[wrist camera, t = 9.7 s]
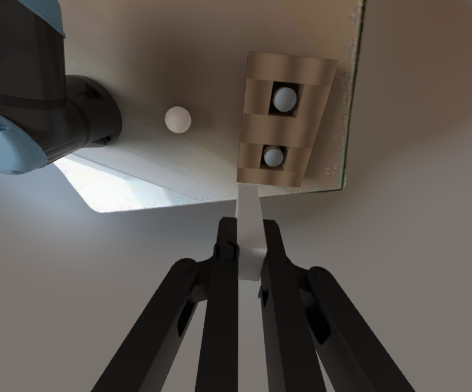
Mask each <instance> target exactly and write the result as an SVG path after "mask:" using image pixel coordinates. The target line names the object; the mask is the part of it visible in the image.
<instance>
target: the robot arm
mask: <svg viewBox="0 0 472 392" xmlns="http://www.w3.org/2000/svg"><path fill="white" fill-rule="evenodd" d="M63 38H64V39H65V38H66V36H65V33H64V32H63V24H62V14H61V8H60V5H59V3H58V1H57V0H0V173H3V174H10V175H18V174H24V173H27V172H30V171H32V170H35V169H39V168H42V167H45V166H46V165H48V164H50V163H52V162H54V161H56V160H58V159H60V158H62V157H64V156H66V155H68V154H70V153H72V152H74V151H76V150H78V149H80V148H94V147H103V146H106V145H108V144H110V143H112V142H113V141H115V140H116V139H117V138H118V136H119V134H120V132H121V128H122V119H121V114H120V111H119V109H118V106H117V104H116V103H115V101H114V100H113V98H112V97H111V95H110V94H109V93H108V92H107V91H106V90H105V89H104V88H103V87H102V86H100V85H99V84H98V83H96V82H95V81H93V80H91V79H89V78H86V77H83V76H79V75H65V57H64V39H63ZM260 276H261V286H260V291H259V294H258V298H260V296H261V307H262V319H263V330H264V341H265V351H266V364H267V375H268V386H269V392H327V391H326V387H325V383H324V380H323V376H322V372H321V369H320V365H319V361H318V357H317V354H316V351H317V353H318V355H319V358H320V360H321V362H322V364H323V366H324V368H325V371H326V373H327V375H328V377H329V379H330V381H331V383H332V386H333V388H334V390H335V392H415V390H414V389H413V388H412V386H411V385H410V383H409V382H408V381H407V379H406V378H405V376H404V375H403V374H402V372H401V371H400V370H399V368H398V367H397V365H396V364H395V362H394V361H393V360H392V358H391V357H390V355H389V354H388V353H387V351H386V350H385V348H384V347H383V345H382V344H381V343H380V341H379V340H378V339H377V337H376V336H375V334H374V333H373V332H372V330H371V329H370V327H369V326H368V324H367V323H366V322H365V320H364V319H363V317H362V316H361V315H360V313H359V312H358V310H357V309H356V308H355V306H354V305H353V303H352V302H351V300H350V299H349V298H348V297H347V295H346V293H345V292H344V291H343V289H342V288H341V286H340V285H339V284H338V282H337V281H336V279H335V278H334V277H333V275H332V274H331V273H330V272H329V271H327V270H326V269H324V268H322V267H319V266H314V267H311V268H310V269H309V270H306V269H303V268H301V267H298V266H296V265H294V264H293V263H291V261H290V259H289V258H288V257H287V256H286V253H285V249H284V245H283V241H282V237H281V234H280V229H279V226H278V224H277V223H276V222H275V220H265V219H262V213H261V206H260V200H259V193H258V187H257V185H244V184H239V186H238V196H237V205H236V218H233V217H223V218H222V219H221V220H220V221H219V227H218V234H217V242H216V244H215V246H214V252H213V256H212V257H211V258H209V259H207V260H205V261H201V262H196V261H195V260H193V259H191V258H184V259H180V260H179V261H177V262H175V264H174V265H173V266H172V267H171V269H170V271H169V272H168V274H167V275H166V277H165V278H164V280H163V281H162V283H161V284H160V286H159V287H158V289H157V290H156V292H155V294H154V295H153V297H152V298H151V300H150V301H149V303H148V304H147V306H146V307H145V309H144V310H143V312H142V314H141V315H140V317H139V318H138V320H137V321H136V323H135V324H134V326H133V327H132V329H131V330H130V332H129V334H128V335H127V337H126V338H125V340H124V341H123V343H122V344H121V346H120V348H119V349H118V350H117V352H116V354H115V355H114V357H113V358H112V360H111V361H110V363H109V364H108V366H107V367H106V369H105V371H104V372H103V374H102V375H101V377H100V378H99V380H98V381H97V383H96V384H95V386H94V387H93V389H92V391H91V392H160V391H161V389H162V387H163V384H164V382H165V380H166V378H167V375H168V373H169V370H170V368H171V366H172V363H173V361H174V359H175V356H176V354H177V352H178V349H179V347H180V344H181V342H182V340H183V338H184V335H185V333H186V331H187V328H188V326H189V324H190V321H191V319H192V317H193V314H194V312H195V310H196V307H197V305H198V302H200V301H204V300H207V299H208V300H207V307H206V315H205V322H204V329H203V336H202V343H201V350H200V357H199V365H198V372H197V379H196V386H195V392H238V280H252V281H259V280H260ZM315 349H316V350H315Z"/></svg>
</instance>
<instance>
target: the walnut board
mask: <svg viewBox="0 0 472 392" xmlns="http://www.w3.org/2000/svg"><path fill="white" fill-rule="evenodd" d="M338 63H339V60H329V59H319V58H309V57H299V56H289V55H279V54H269V53H259V52H250V51H249V53H248V60H247V71H246V82H245V92H244V103H243V114H242V125H241V135H240V146H239V157H238V168H237V182H241V183H253V184H266V185H278V186H291V187H301V184H302V180H303V177H304V174H305V171H306V167H307V164H308V161H309V158H310V154H311V151H312V148H313V145H314V141H315V138H316V135H317V132H318V128H319V125H320V122H321V119H322V115H323V112H324V109H325V106H326V102H327V99H328V96H329V92H330V89H331V86H332V83H333V79H334V76H335V73H336V70H337V66H338ZM273 81H279V82H290V83H297V85H296V90H295V93H296V97H297V100H296V103H295V105H294V107H293V108H292V109H291V112H290V113H287V112H276V111H269V105H270V99H271V93H272V86H273ZM263 144H266V145H277V146H283V149H282V154H283V161H282V162H281V163H280V164H279V165H278V166H274V167H272V166H269V165H267V164H266V162H265V160H261V155H262V149H263Z"/></svg>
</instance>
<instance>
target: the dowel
mask: <svg viewBox="0 0 472 392" xmlns="http://www.w3.org/2000/svg"><path fill="white" fill-rule="evenodd" d="M262 151H263V155H264V159H265V162H266V164H267V165H269V166H272V167H274V166H278V165H279V164H280V163H281V162H282V161H283V154H282V152H281V150H280V148H279V146H277V145H266V144H265V145H264V146H263V149H262Z"/></svg>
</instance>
